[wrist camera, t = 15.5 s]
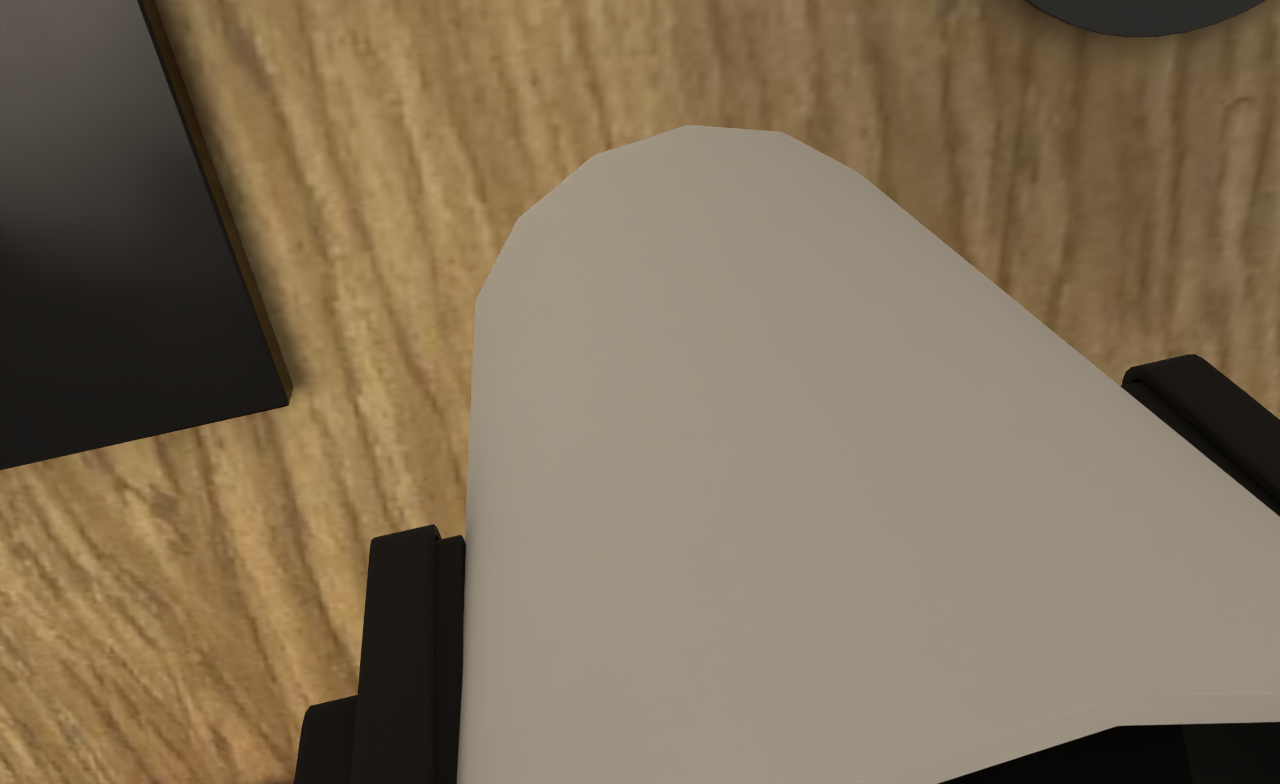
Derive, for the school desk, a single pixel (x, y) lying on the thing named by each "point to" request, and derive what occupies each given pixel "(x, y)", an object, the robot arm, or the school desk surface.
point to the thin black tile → (115, 243)
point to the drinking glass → (829, 508)
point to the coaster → (1142, 14)
